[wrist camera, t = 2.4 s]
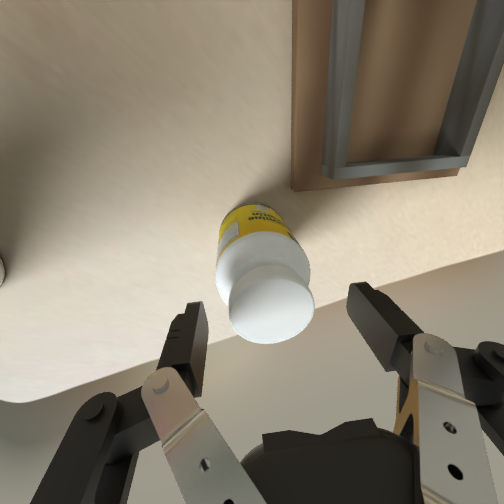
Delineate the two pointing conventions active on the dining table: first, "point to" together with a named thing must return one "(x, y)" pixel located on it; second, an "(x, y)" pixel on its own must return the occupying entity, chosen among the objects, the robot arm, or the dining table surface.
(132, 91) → the dining table surface
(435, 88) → the collar board
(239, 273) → the pill bottle
